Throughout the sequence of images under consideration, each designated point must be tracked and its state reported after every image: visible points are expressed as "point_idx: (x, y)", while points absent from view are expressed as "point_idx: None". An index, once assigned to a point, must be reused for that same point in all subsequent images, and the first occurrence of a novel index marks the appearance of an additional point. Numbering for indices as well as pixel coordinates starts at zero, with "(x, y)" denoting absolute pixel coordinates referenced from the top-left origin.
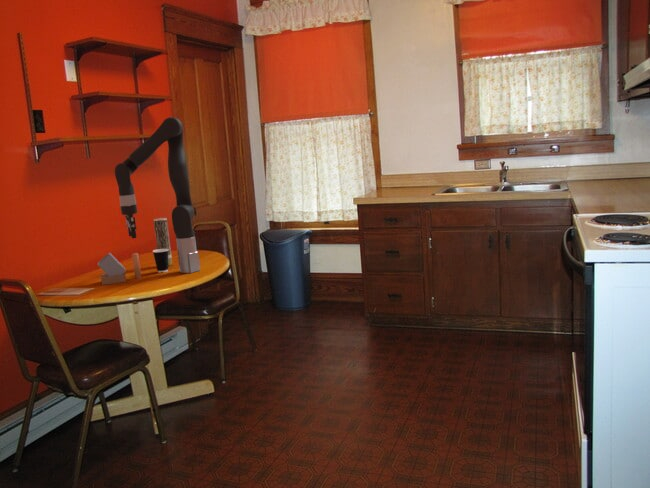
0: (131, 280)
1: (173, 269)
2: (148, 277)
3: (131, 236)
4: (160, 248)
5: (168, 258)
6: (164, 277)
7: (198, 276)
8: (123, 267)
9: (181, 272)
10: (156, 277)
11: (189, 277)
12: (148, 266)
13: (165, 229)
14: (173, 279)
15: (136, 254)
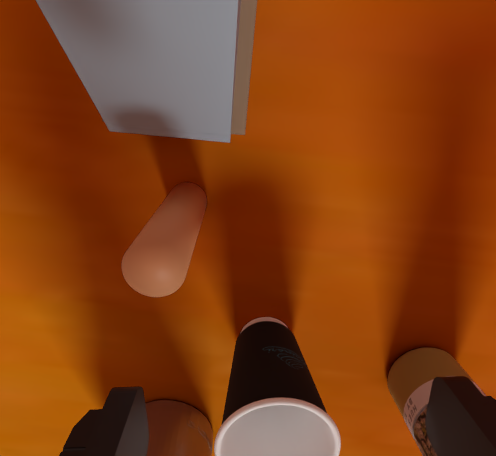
0: (139, 154)
1: None
2: None
3: (118, 408)
4: None
5: (404, 419)
6: (96, 322)
7: (13, 443)
8: (181, 125)
9: (145, 404)
10: (126, 289)
11: (15, 412)
12: (492, 296)
13: None
14: (12, 350)
15: (125, 276)
